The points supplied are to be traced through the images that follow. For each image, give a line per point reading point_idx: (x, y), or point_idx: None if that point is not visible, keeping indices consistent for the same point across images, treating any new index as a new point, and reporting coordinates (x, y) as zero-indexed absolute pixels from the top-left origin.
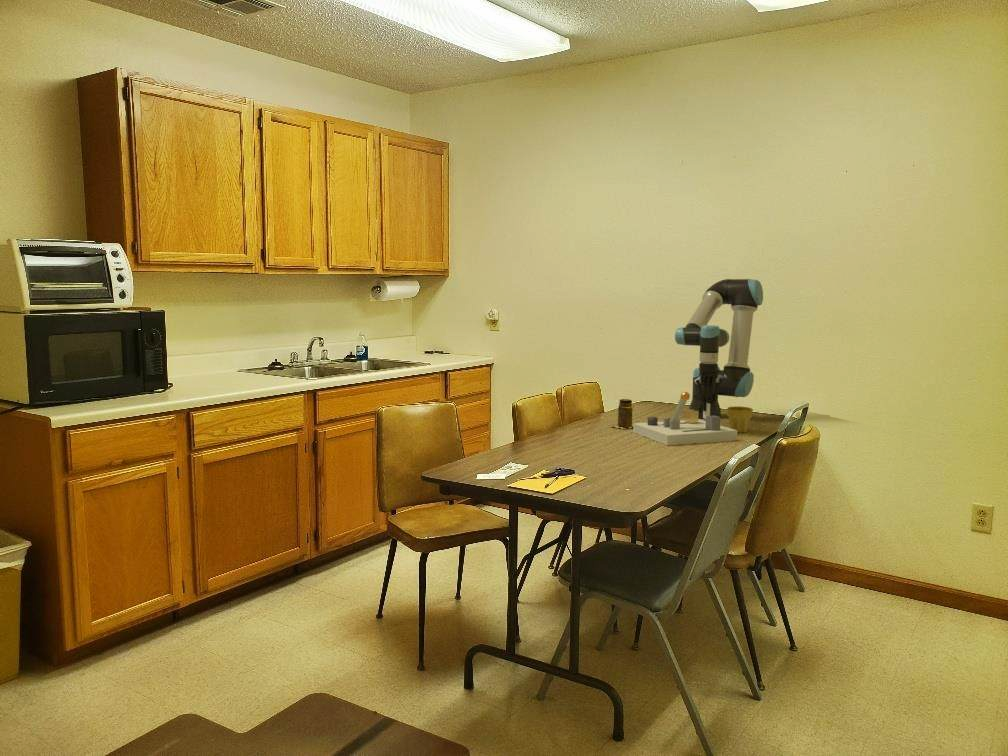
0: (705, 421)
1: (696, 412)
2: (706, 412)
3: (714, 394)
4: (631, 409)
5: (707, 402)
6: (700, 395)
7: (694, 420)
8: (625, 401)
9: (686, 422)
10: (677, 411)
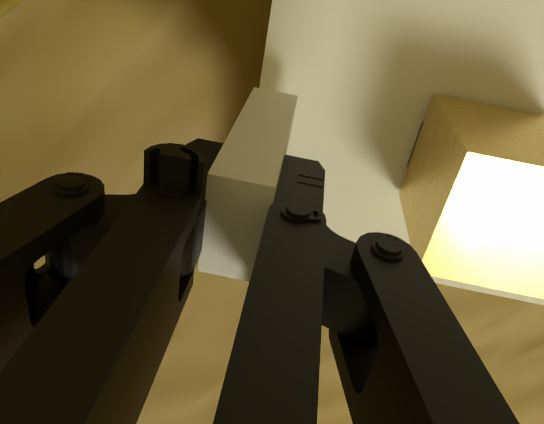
0: None
1: (501, 150)
2: (288, 136)
3: (4, 283)
4: None
5: (200, 252)
6: (473, 356)
7: (497, 113)
8: None
9: None
10: None
